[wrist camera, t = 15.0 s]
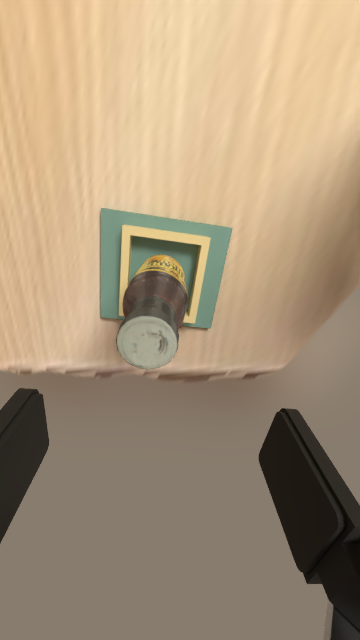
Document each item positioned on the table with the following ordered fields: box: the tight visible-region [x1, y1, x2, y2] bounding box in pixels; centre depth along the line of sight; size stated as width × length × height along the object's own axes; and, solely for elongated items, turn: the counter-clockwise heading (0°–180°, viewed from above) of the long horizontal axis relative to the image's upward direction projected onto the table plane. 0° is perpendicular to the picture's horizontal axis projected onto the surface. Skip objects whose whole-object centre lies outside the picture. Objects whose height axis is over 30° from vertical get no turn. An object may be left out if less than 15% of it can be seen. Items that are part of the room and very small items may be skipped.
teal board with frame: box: [101, 208, 232, 329], centre depth 33 cm, size 17×15×3 cm
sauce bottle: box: [116, 255, 188, 369], centre depth 24 cm, size 7×6×20 cm
